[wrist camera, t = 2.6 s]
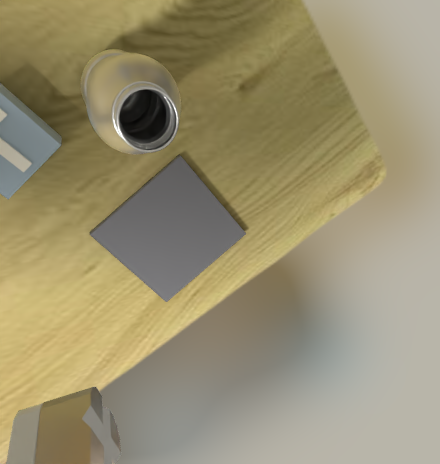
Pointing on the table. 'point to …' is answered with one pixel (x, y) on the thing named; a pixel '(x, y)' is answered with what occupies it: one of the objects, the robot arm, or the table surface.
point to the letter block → (22, 142)
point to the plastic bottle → (131, 101)
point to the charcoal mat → (169, 230)
